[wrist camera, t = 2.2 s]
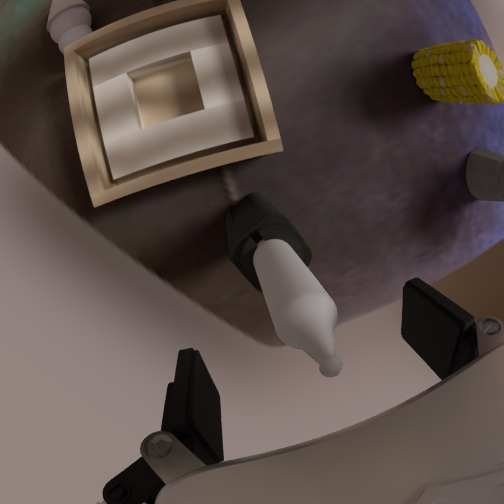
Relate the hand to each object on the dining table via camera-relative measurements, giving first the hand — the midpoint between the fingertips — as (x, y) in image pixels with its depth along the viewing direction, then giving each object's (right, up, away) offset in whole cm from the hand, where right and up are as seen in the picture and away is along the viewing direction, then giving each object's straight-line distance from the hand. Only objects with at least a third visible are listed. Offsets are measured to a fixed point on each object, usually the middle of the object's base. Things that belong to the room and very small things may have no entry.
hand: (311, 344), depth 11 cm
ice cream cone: (-26, +34, +9) cm, 44 cm away
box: (-12, +21, +15) cm, 29 cm away
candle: (-2, +8, +21) cm, 23 cm away
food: (+24, +29, +17) cm, 42 cm away
